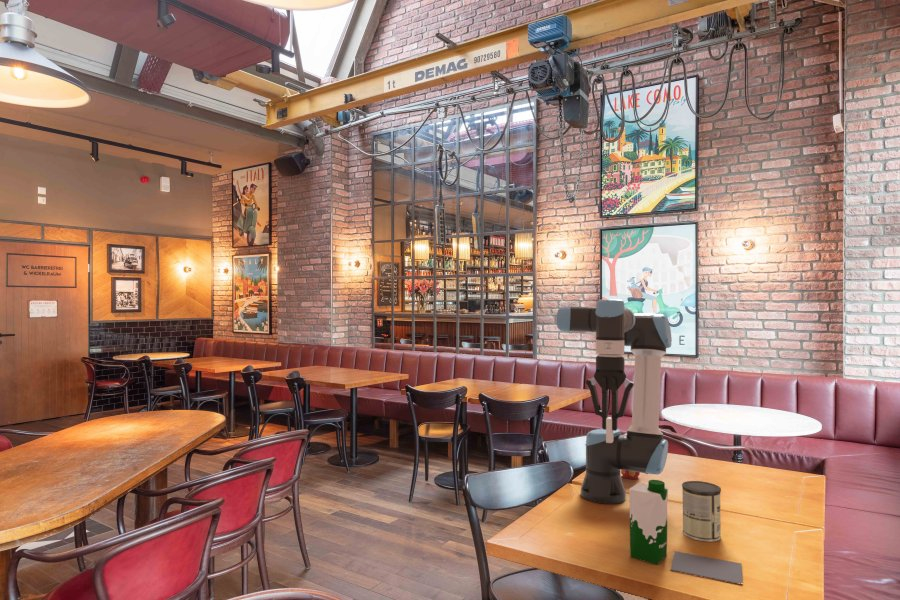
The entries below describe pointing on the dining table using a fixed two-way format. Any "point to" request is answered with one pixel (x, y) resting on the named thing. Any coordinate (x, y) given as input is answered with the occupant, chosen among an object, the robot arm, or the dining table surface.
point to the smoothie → (629, 472)
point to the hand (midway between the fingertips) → (609, 441)
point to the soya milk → (648, 521)
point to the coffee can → (701, 511)
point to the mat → (707, 567)
